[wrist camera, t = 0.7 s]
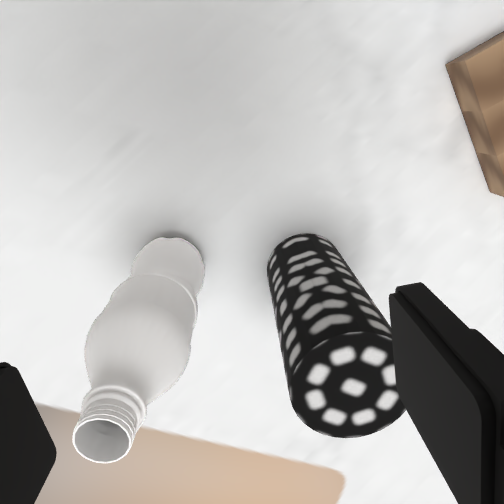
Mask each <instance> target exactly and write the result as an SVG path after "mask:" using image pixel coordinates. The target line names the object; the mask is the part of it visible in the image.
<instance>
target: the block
mask: <svg viewBox="0 0 504 504" xmlns="http://www.w3.org/2000/svg"><path fill="white" fill-rule="evenodd" d="M446 68H447V71H448V74H449V77H450V79H451V82H452V85H453V88H454V91H455V94H456V97H457V99H458V102H459V105H460V108H461V111H462V114H463V117H464V119H465V122H466V125H467V128H468V131H469V134H470V137H471V139H472V142H473V145H474V148H475V151H476V154H477V157H478V159H479V162H480V165H481V168H482V171H483V174H484V177H485V179H486V182H487V185H488V188H489V191H490V192H491V193H494V194H497V195H500V196H503V197H504V32H502V33H500V34H498V35H497V36H495V37H493V38H491V39H490V40H488V41H486V42H484V43H483V44H481V45H479V46H477V47H476V48H474V49H472V50H470V51H469V52H467V53H465V54H463V55H461V56H460V57H458V58H456V59H454V60H453V61H451V62H449V63H447V64H446Z"/></svg>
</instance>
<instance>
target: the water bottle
mask: <svg viewBox="0 0 504 504" xmlns="http://www.w3.org/2000/svg"><path fill="white" fill-rule="evenodd" d="M204 275H205V267H204V264H203V261H202V259H201V256H200V253H199V251H198V250H197V249H196V248H195V246H194V245H192V244H191V243H190V242H188V241H186V240H185V239H182V238H166V237H160V238H157V239H155V240H153V241H151V242H149V243H148V244H147V245H146V246H144V247H143V248H142V249H141V251H140V252H139V253H138V255H137V256H136V258H135V260H134V262H133V264H132V268H131V275H130V277H129V278H128V279H127V280H126V281H124V282H123V283H121V284H120V285H119V286H118V287H117V288H116V289H115V290H114V292H113V293H112V295H111V298H110V301H109V302H108V304H107V305H106V307H105V308H104V310H103V311H102V313H101V314H100V315H99V316H98V317H97V318H96V319H95V321H94V322H93V324H92V326H91V328H90V330H89V332H88V335H87V339H86V344H85V364H86V369H87V374H88V378H89V381H90V384H91V388H92V389H91V390H90V391H89V392H88V393H87V394H86V396H85V397H84V400H83V402H82V409H81V416H80V419H79V420H78V423H77V425H76V427H75V428H74V432H73V444H74V446H75V448H76V450H77V452H78V453H80V454H81V455H82V456H83V457H84V458H86V459H88V460H91V461H93V462H98V463H110V462H115V461H118V460H120V459H121V458H123V457H124V456H125V455H126V454H127V453H128V451H129V450H130V448H131V446H132V443H133V440H134V437H135V433H136V432H137V431H138V430H139V428H140V426H141V425H142V424H143V422H144V420H145V418H146V414H147V407H146V406H147V405H148V404H150V403H151V402H153V401H154V400H156V399H157V398H159V397H160V396H161V395H163V394H164V393H165V392H167V391H168V390H169V389H170V388H171V387H172V386H173V385H174V384H175V383H176V382H177V381H178V380H179V378H180V377H181V375H182V374H183V372H184V370H185V368H186V366H187V363H188V360H189V357H190V350H191V345H190V342H191V337H192V332H193V329H194V326H195V324H196V320H197V313H198V305H197V299H196V296H197V295H198V294H199V293H200V291H201V289H202V286H203V281H204Z"/></svg>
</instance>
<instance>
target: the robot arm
mask: <svg viewBox="0 0 504 504" xmlns="http://www.w3.org/2000/svg"><path fill="white" fill-rule="evenodd" d="M389 308H390V319H391V331H392V343H393V355H394V367H395V379H396V387H397V391H398V394H399V397H400V399H401V401H402V403H403V405H404V406H405V408H406V410H407V412H408V414H409V415H410V417H411V419H412V421H413V423H414V424H415V426H416V428H417V430H418V432H419V433H420V435H421V437H422V439H423V441H424V443H425V444H426V446H427V448H428V450H429V452H430V453H431V455H432V457H433V459H434V461H435V462H436V464H437V466H438V468H439V470H440V471H441V473H442V475H443V477H444V479H445V480H446V482H447V484H448V486H449V488H450V489H451V491H452V493H453V495H454V497H455V499H456V500H457V502H458V504H504V355H503V354H502V353H501V352H500V351H499V350H498V349H497V348H496V347H495V346H494V345H493V344H492V343H491V342H490V341H489V340H488V339H486V338H485V337H484V336H483V335H482V334H481V333H480V332H479V331H477V330H476V329H469V328H468V327H467V326H466V325H465V324H464V323H463V322H462V321H461V320H460V319H459V318H458V317H457V316H456V315H455V314H454V313H453V312H452V311H451V310H450V309H449V308H448V307H447V306H446V305H445V304H444V303H443V302H442V301H441V300H440V299H438V298H437V297H436V296H435V295H434V294H433V293H432V292H431V291H430V290H429V289H428V288H427V287H426V286H425V285H424V284H423V283H421V282H419V283H414V284H408V285H403V286H398V287H397V288H396V291H395V293H393V294H390V295H389ZM55 460H56V447H55V445H54V443H53V441H52V439H51V437H50V434H49V432H48V430H47V428H46V426H45V424H44V422H43V420H42V418H41V416H40V414H39V412H38V410H37V408H36V406H35V404H34V401H33V399H32V397H31V395H30V393H29V391H28V389H27V387H26V385H25V383H24V381H23V379H22V377H21V375H20V373H19V371H18V369H17V368H16V367H13V366H11V365H10V364H8V363H6V362H2V363H0V504H34V503H35V501H36V499H37V497H38V495H39V493H40V491H41V489H42V487H43V485H44V483H45V481H46V479H47V477H48V475H49V473H50V471H51V468H52V467H53V465H54V463H55Z"/></svg>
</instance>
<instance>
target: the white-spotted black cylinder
mask: <svg viewBox="0 0 504 504" xmlns="http://www.w3.org/2000/svg"><path fill="white" fill-rule="evenodd" d="M267 276H268V281H269V287H270V292H271V297H272V303H273V308H274V314H275V319H276V325H277V330H278V335H279V341H280V346H281V352H282V357H283V363H284V368H285V373H286V379H287V384H288V390H289V395H290V400H291V403H292V407H293V409H294V411H295V412H296V414H297V416H298V417H299V418H300V419H301V420H302V421H303V422H304V424H306V425H307V426H309V427H310V428H311V429H313V430H315V431H317V432H319V433H321V434H324V435H328V436H332V437H339V438H353V437H361V436H365V435H369V434H372V433H375V432H377V431H380V430H382V429H383V428H385V427H387V426H389V425H390V424H392V423H393V422H394V421H395V420H397V419H398V418H399V417H400V416H401V415H402V414H403V413H404V412H405V410H406V408H405V406H404V405H403V403H402V401H401V399H400V397H399V394H398V391H397V387H396V379H395V367H394V355H393V343H392V331H391V327H390V325H389V324H388V322H387V321H386V319H385V318H384V317H383V315H382V314H381V312H380V311H379V309H378V308H377V307H376V305H375V304H374V302H373V301H372V299H371V298H370V296H369V295H368V294H367V292H366V291H365V289H364V288H363V286H362V285H361V284H360V282H359V281H358V279H357V278H356V276H355V275H354V273H353V272H352V271H351V269H350V268H349V266H348V265H347V263H346V262H345V261H344V259H343V258H342V256H341V255H340V253H339V252H338V251H337V249H336V248H335V246H334V245H333V244H332V243H331V242H330V241H328V240H327V239H325V238H323V237H321V236H318V235H315V234H299V235H295V236H292V237H290V238H287V239H286V240H284V241H283V242H281V243H280V244H279V245H278V246H277V247H276V248H275V249H274V251H273V252H272V254H271V256H270V258H269V261H268V266H267Z"/></svg>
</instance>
